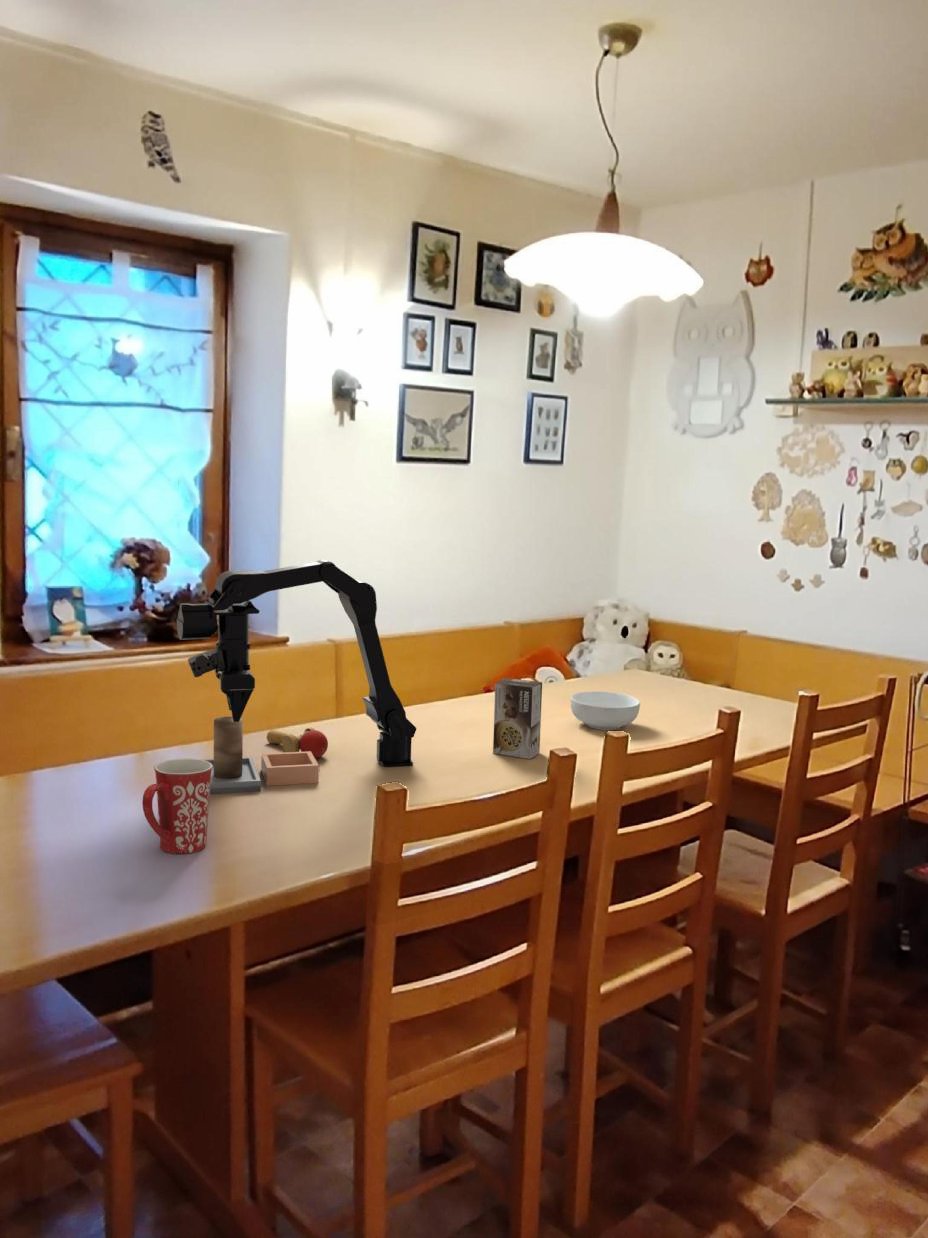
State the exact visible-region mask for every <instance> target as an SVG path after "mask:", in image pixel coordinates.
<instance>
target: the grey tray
mask: <svg viewBox="0 0 928 1238" xmlns="http://www.w3.org/2000/svg"><path fill="white" fill-rule="evenodd" d="M200 760H205V761H208V762H210V763H211V764H212V766H213V767H212V770H211V781H210V794H211V795H212V794H214V795H215V794H226V793H228V794H230V793H246V792H261V790H262V786H261V785H262V783H261V782H262V781H261V777H260V775H259V772H258V769H257V766H256V763H255V761H254V759H253V757H252V756H248V757H244V756H243V757H242V776H241V777H238V778H234V779H220V778H216V777H214V758H205V759H203V758H201V759H200Z"/></svg>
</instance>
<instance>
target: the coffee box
mask: <svg viewBox="0 0 928 1238" xmlns="http://www.w3.org/2000/svg"><path fill="white" fill-rule="evenodd" d="M542 694H543V682H542V681H535V680H529V679H528V680H527V679H526V680H525V679H520V678H512V677H511V678H509V677H504V678H502V679H500V680H499V681H497V682H495V683H494V708H493V711H494V712H493V713H494V714H493V737H492V738H493V743H492V744H493V745H492V754H494V755H502V756H508V757H515V758H522V759H528V760H530V759H532V758H534V757H536V756H537V755H539V754H540V752H541V751H540V747H541V746H540V745H541V744H540V743H541V721H542V700H543V697H542Z"/></svg>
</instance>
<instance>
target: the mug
mask: <svg viewBox="0 0 928 1238" xmlns="http://www.w3.org/2000/svg"><path fill="white" fill-rule="evenodd" d="M212 767H213V766H212V764H211V763H210V762H208V761H205V760H201V759H199V758H190V757H189V758H186V757H185V758H183V757H182V758H174V759H173V758H172V759H167V760H163V761H161V762H158V763H156V764H155V765H154V766H153V769H154V772H155V783H152V784H150V785H148V786H147V787H146V789H145V790H144V792H143V795H142V801H141V802H142V810H143V814H144V815H143V816H144V817H145V819H146V821H147V823H148V824H149V826H150V828H151V829H152V830H153V832H154V833H155V834H156V835H157V836H158V837H159V847H160V849H161V850H162V851H163V852H167V853H169V854H170V853H171V854H176V853H177V854H176V855H178V853H179V854H180V853H181V854H182V855H183V853H184V854H192V853H196V852H198V851H201V850H203V849H205V848H206V846H207V841H208V824H209V813H210V811H209V809H210V796H211V795H210V781H211V770H212ZM155 794H156V799H157V800H156V801H157V802H156V803H157V816H158V819H157V818H156V816H155V813H154V809H153V802H154V801H153V800H154V796H155ZM181 854H180V855H181Z"/></svg>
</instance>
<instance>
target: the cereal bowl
mask: <svg viewBox="0 0 928 1238" xmlns="http://www.w3.org/2000/svg"><path fill="white" fill-rule="evenodd" d="M640 707H641V702H640V699H638V698H637V697H635V696H632V695H629V694H625V693H622V692H621V693H620V692H615V691H614V692H613V691H603V690H589V691H581V692H576V693H573V694H572V695H571V697H570V708H571V713H572V714H573V716H574V717H575V718H576V719H577V720H579V721H580V722H582V723H584V724H586V725H587V726H588V727H590V728H591V729H595V730H600V731H615V730H618V729H620V728H621V727H625V726H628V725H631V724H632V723H633V722H634V721H635V720H636V719H637V717H638V715H639V712H640Z"/></svg>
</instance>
